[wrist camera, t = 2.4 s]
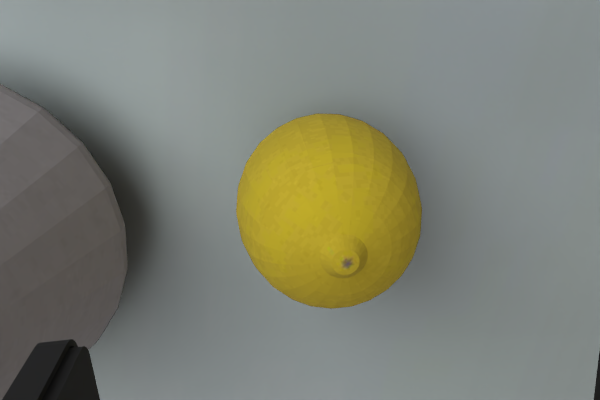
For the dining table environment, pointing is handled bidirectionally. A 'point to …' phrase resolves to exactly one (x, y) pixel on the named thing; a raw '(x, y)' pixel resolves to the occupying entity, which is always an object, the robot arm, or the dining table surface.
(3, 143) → the coffee pot
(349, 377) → the dining table surface
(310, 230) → the lemon
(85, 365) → the robot arm
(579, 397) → the dining table surface
